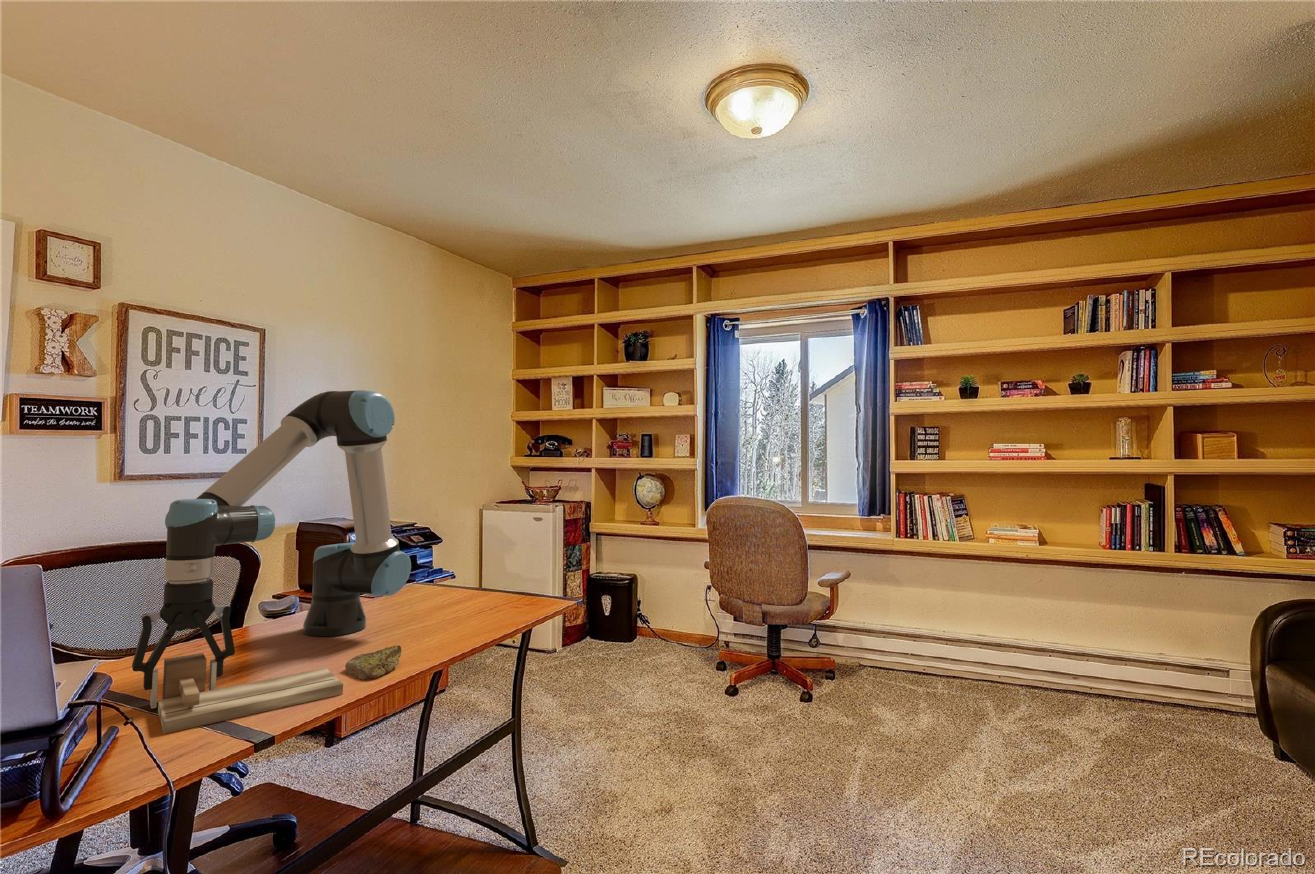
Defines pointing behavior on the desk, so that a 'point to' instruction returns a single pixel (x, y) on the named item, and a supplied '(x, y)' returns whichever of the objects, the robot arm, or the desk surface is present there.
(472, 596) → the desk surface
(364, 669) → the rock
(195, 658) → the brown blocky t-shaped piece
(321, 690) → the board
